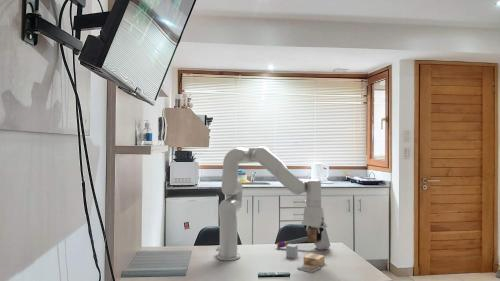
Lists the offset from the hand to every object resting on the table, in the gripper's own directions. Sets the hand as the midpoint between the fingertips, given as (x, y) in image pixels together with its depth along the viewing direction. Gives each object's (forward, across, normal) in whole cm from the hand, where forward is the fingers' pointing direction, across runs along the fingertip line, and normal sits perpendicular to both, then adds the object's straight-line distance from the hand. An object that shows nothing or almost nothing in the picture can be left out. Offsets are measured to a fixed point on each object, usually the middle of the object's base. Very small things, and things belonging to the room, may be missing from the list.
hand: (314, 239), depth 185 cm
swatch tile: (+12, +3, -9) cm, 16 cm away
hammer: (+13, -20, +20) cm, 31 cm away
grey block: (+12, -16, +3) cm, 21 cm away
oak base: (+13, 0, 0) cm, 13 cm away
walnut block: (+1, 0, 0) cm, 1 cm away
